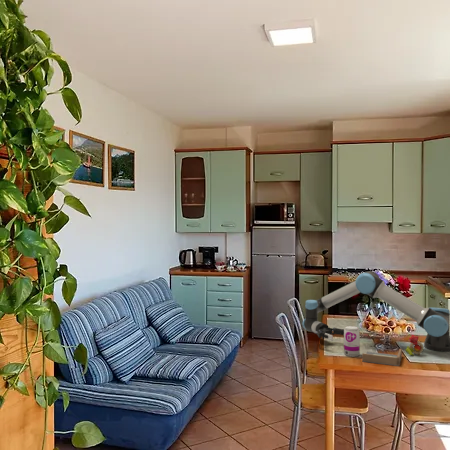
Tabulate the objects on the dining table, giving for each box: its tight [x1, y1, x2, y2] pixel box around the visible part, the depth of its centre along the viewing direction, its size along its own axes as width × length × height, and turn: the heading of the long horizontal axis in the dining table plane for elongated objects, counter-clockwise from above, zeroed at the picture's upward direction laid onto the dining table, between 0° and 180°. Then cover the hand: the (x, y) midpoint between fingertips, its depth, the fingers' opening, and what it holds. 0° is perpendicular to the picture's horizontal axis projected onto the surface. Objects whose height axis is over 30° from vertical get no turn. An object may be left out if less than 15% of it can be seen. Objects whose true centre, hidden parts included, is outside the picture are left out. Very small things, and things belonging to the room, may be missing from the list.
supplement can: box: [343, 325, 361, 358], centre depth 246 cm, size 8×8×15 cm
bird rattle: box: [405, 334, 425, 357], centre depth 245 cm, size 6×11×9 cm
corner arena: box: [361, 348, 403, 367], centre depth 238 cm, size 18×18×4 cm
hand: (342, 337), depth 253 cm, fingers open, 13 cm apart
